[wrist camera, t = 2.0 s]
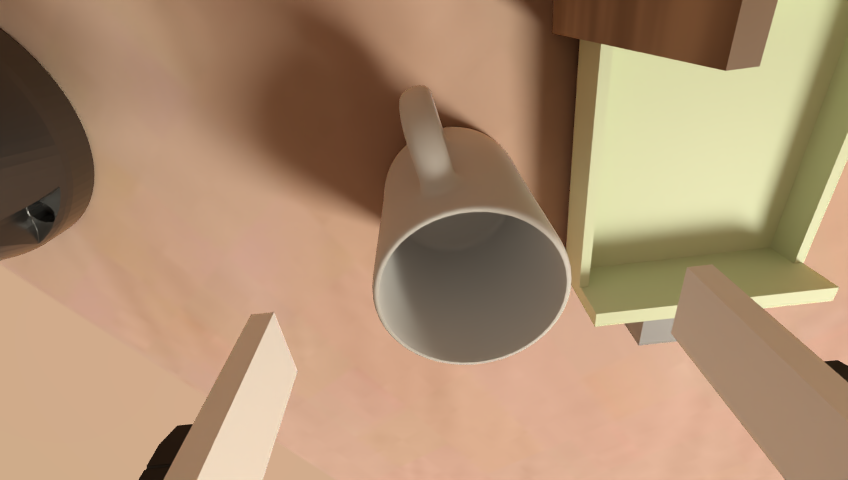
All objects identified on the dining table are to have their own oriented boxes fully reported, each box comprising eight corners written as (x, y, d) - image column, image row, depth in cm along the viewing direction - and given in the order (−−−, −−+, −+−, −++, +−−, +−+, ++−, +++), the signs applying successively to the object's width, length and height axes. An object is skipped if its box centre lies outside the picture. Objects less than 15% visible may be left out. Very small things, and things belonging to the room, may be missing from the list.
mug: (527, 225, 28) (587, 340, 18) (410, 260, 29) (410, 385, 20) (484, 42, 22) (540, 72, 13) (340, 95, 23) (292, 159, 14)
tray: (562, 307, 31) (589, 361, 26) (582, 1, 21) (632, 0, 16) (753, 286, 30) (815, 337, 26) (871, -40, 20) (1010, -53, 15)
